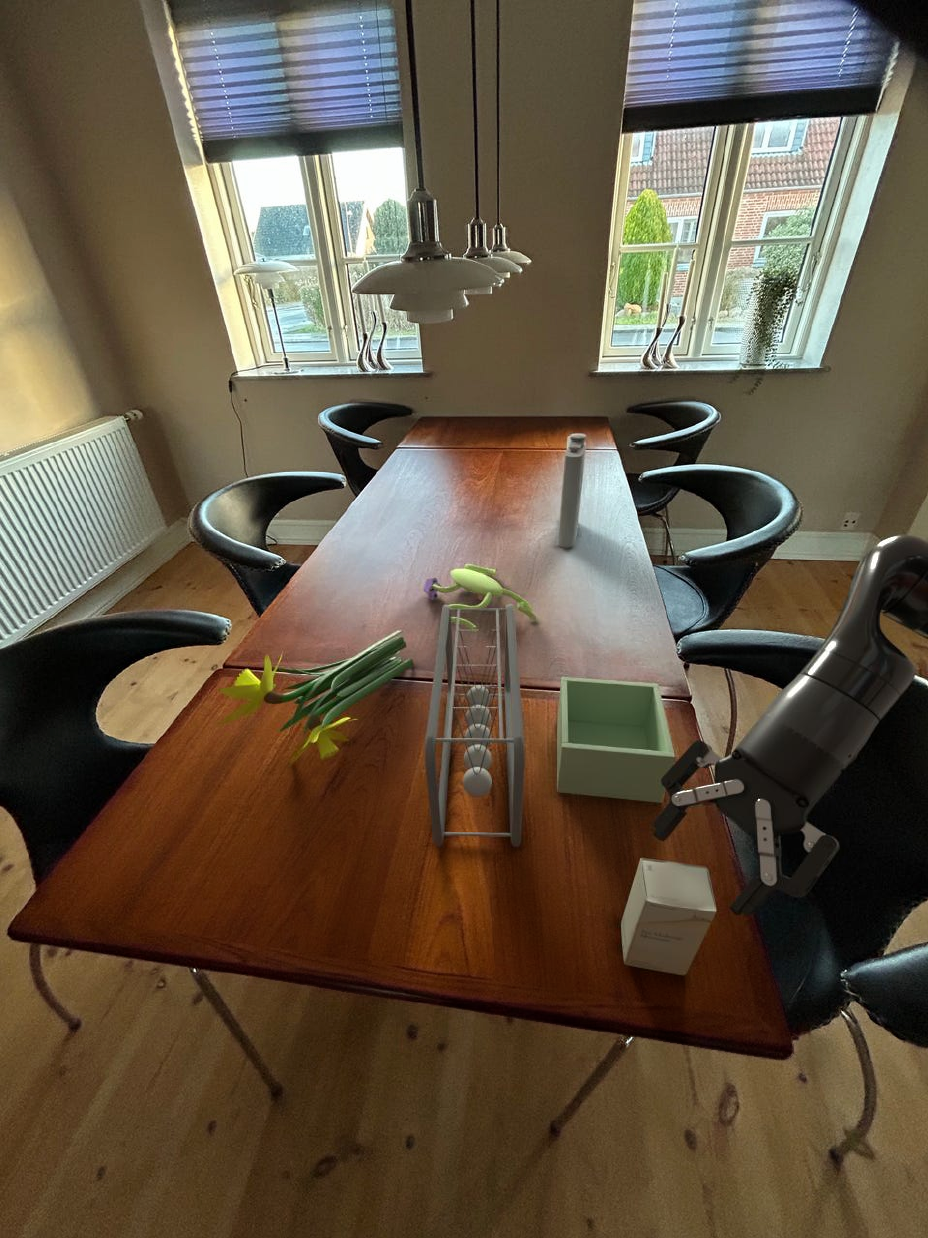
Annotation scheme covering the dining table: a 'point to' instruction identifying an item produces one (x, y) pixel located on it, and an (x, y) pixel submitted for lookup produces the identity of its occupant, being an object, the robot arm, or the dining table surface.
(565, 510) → the flask
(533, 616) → the figurine
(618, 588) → the dining table surface
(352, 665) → the daffodil flowers
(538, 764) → the dining table surface
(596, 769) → the open square storage box
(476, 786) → the newton's cradle
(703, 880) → the cosmetic box
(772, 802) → the robot arm
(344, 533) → the dining table surface
